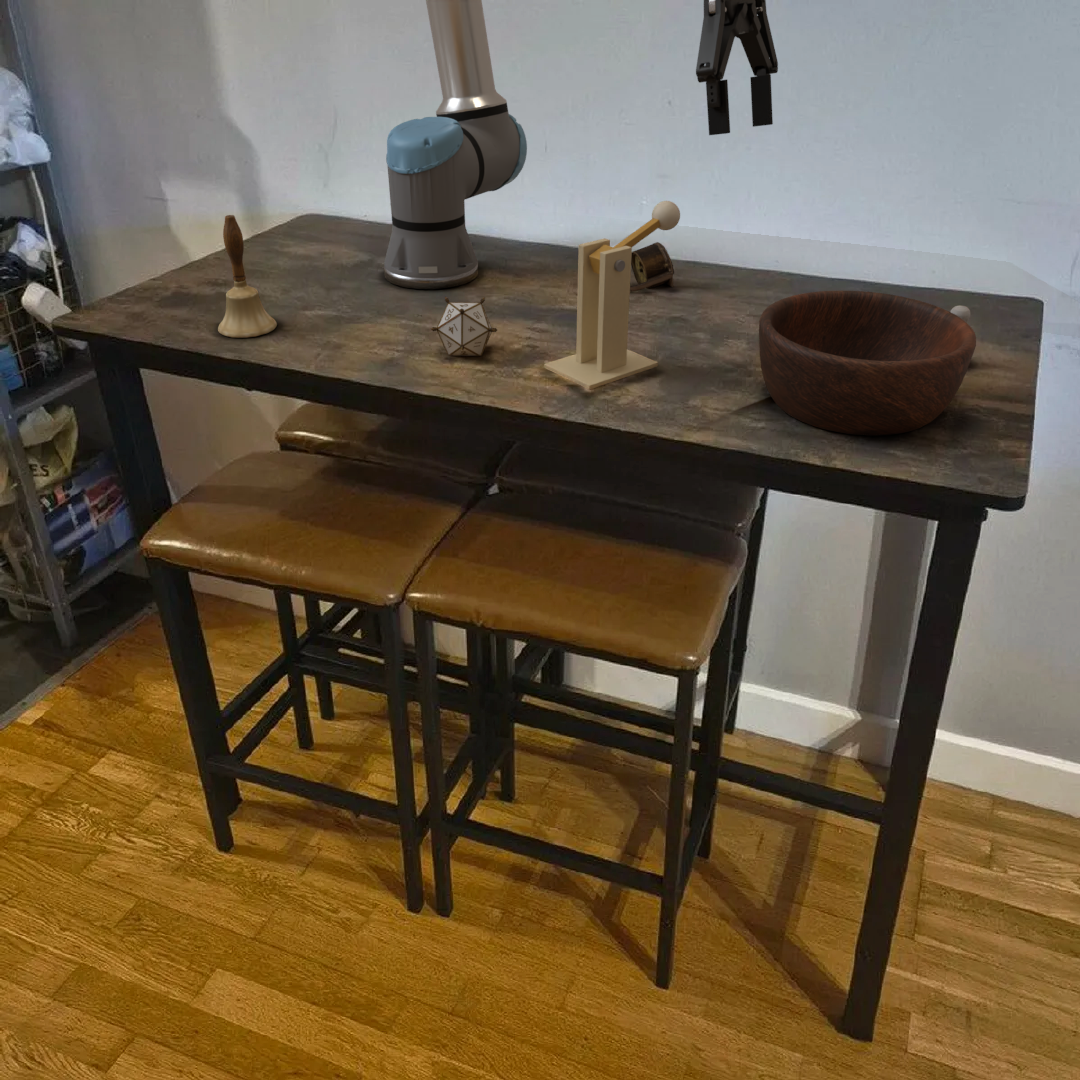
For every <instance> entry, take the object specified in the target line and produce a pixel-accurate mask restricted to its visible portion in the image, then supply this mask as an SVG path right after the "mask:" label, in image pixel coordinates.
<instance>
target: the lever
mask: <svg viewBox="0 0 1080 1080" xmlns="http://www.w3.org/2000/svg"><path fill="white" fill-rule="evenodd" d="M680 219H681V211H680V208H679V207H678V205H677V204H676V203H675V202H673V201H670V200H663V201H660V202H658V203H657V204H656V205H655V206H654V207H653V209H652V212H651V219H649V220H648V221H647V222H646V223H644V224H643V225H641V226H640V227H639V228H637V229H636V230H635V231H633V232H632V233H631V234H629V235H628V236H626V237H625V238H624V239H622V240H621V241H620V242H618V243H617V244H615V245H614V246H611V245H610V246H608V245H603V246H602V247H600V248H599V249H598V250H596V251H595V252H594V253H592V254H591V255H589V258H590V262H591V266H592V269H593V272H594V273H597V274H600V252H603V251H607V250H611V249H615V248H619V247H623V246H629V247H632V248H633V247H635V246H636V245H638V244H639V243H640V242H641V241H643V240H644V239H645V238H647V237H648V236H650V235H651V234H653V232H655V231H656V230H660V231H661V230H662V231H670V230H672V229H674V228H675V227H676V226H677V225H678V224H679V222H680Z"/></svg>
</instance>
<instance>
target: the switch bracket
mask: <svg viewBox="0 0 1080 1080" xmlns="http://www.w3.org/2000/svg"><path fill="white" fill-rule="evenodd" d="M603 245H608V246H611V239H608V238H600V239H596V240H592V241H587V242H583V243H580V244H578V254H577V256H578V257H577V296H576V297H577V298H576V299H577V300H576V307H577V308H576V341H575V343H576V345H575V347H576V348H575V354H571V355H568V356H565V357H562V358H558V359H556V360H552V361H549V362H545V363H543V368H544V369H546V370H548V371H550V372H552V373H554V374H556V375H558V376H560V377H562V378H565V379H567V380H569V381H570V382H573V383H574V384H577V385H579V386H581V387H583V388H584V389H588V390H589V391H590V390H592V389H595V388H598V387H599V388H600V387H601V386H604V385H607V384H610V383H612V382H616V381H619V380H621V379H624V378H627V377H631V376H633V375H636V374H639V373H642V372H646V371H648V370H650V369H655V368H657V367H658V365H659V362H658V361H656V360H653V359H651V358H649V357H646V356H644V355H642V354H639V353H637V352H634V351H633V350H630V349H628V337H629V318H630V317H629V314H630V297H631V296H630V295H631V291H630V286H631V273H632V265H631V256H632V252H633V247H629V246H623V247H619V248H615V249H611V250H607V251H603V252H600V274H597V273H594V272H593V269H592V266H591V262H590V258H589V255H591V254H592V253H594V252H595V251H596V250H598V249H599V248H600V247H602V246H603Z"/></svg>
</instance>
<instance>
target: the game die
mask: <svg viewBox="0 0 1080 1080" xmlns="http://www.w3.org/2000/svg"><path fill="white" fill-rule="evenodd" d="M444 301H445V303H446V306H445V308H444V311H443V313H442V315H441V317H440V319H439V322H438V324H437V326H433V327H431V328H430V330H431V331H433V332H437V335H438V336H439V339H440V341H441V343H442V346H443V348H444V350H445V352H446V355H447V356H450V357H451V356H455V357H456V356H457V357H458V356H460V357H461V356H462V357H465V356H466V357H481V356H483V354H484V352H485V349H486V347H487V344H488V342H489V339H490V338H491V335H492V333H496V332H498V329H497V328H496V327H492V324H491V322H490V320H489V318H488V315H487V312H486V310H485V307H484V305H483V304H484V303H485V302H486V299H485V296H484V297H482V298H481V299H480V301H479V302H473V301H472V302H470V301H469V302H465V301H464V302H463V301H459V302H458V301H450V298H449V297H446V296H444Z"/></svg>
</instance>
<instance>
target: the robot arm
mask: <svg viewBox="0 0 1080 1080" xmlns="http://www.w3.org/2000/svg"><path fill="white" fill-rule="evenodd" d="M425 3H426V4H425V5H426V9H427V15H428V21H429V26H430V32H431V39H432V43H433V49H434V55H435V60H436V66H437V72H438V78H439V83H440V89H441V96H442V100H441V103H440V104H439V106H438V108H437V109H436V111H435V114H436V116H426V117H425V116H424V117H422V118H414V119H410V120H406V121H403V122H401V123H399V124H397V125H396V126H394V127H393V128H392V129H391V130H390V131H389V133H388V135H387V139H386V156H385V158H386V159H385V160H386V165H387V176H388V187H389V188H388V189H389V201H390V213H391V225H392V226H391V233H390V237H389V241H388V246H387V250H386V254H385V257H384V262H383V273H384V278H385V279H386V280H387V282H389V283H391V284H393V285H395V286H398V287H403V288H410V289H419V290H438V289H439V290H440V289H448V288H454V287H458V286H461V285H465V284H467V283H469V282H472V281H473V280H476V278H477V277H478V275H479V261H478V259H477V256H476V253H475V250H474V247H473V244H472V241H471V238H470V235H469V232H468V231H467V227H466V206H465V200H469V199H470V198H474V197H477V196H479V195H482V194H485V193H488V192H495V191H497V190H499V189H502V188H503V187H505V186H506V185H508V184H510V183H511V182H513V181H514V180H515V179H516V178H518V176H519V175H520V173H521V172H522V170H523V168H524V167H525V163H526V160H527V154H528V141H527V137H526V134H525V131H524V128H523V127H522V124H520V123H518V122H517V119H516V118H515V117H514V116H513V115H512V114H511V113H509V109H508V101H507V99H506V98H504V96H502V95H501V94H500V93H498V91H497V90H496V85H495V80H494V73H493V66H492V60H491V52H490V48H489V47H490V46H489V39H488V34H487V33H488V32H487V27H486V21H485V14H484V8H483V1H482V0H425ZM767 12H768V11H767V0H703V20H702V27H701V33H700V40H699V46H698V53H697V60H696V67H695V75H696V77H697V82H698V83H705V90H706V106H707V122H708V136H717V135H726V134H730V133H731V121H730V105H729V104H730V103H729V84H728V79H724V77H725V73H726V70H727V65H728V63H729V59H730V55H731V52H732V48H733V44H734V41H735V38H737V39H739V40H740V43H741V46H742V48H743V50H744V53H745V56H746V58H747V61H748V63H749V67H750V68H751V72H752V73H753V76H750V95H751V96H750V98H751V120H752V122H751V123H752V127H753V128H754V127H762V126H771V125H773V124H774V122H773V97H772V94H773V93H772V74H777V73H778V71H779V63H778V57H777V53H776V48H775V44H774V40H773V35H772V30H771V26H770V22H769V18H768V13H767Z"/></svg>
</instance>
